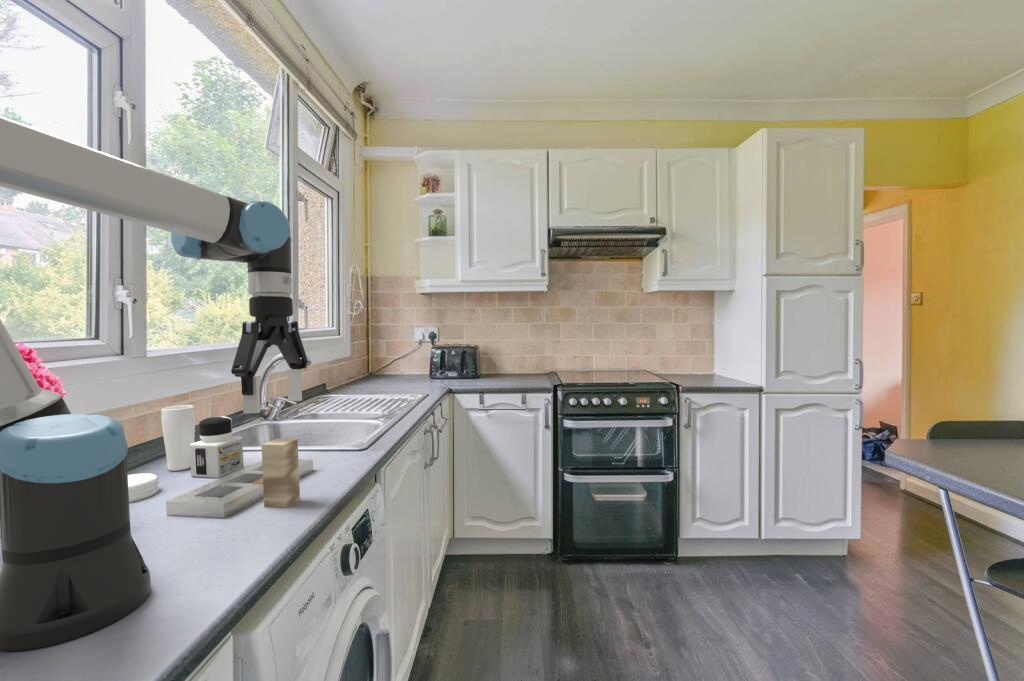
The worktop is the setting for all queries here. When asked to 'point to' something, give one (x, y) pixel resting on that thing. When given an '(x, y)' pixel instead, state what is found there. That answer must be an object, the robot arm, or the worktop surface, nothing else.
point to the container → (216, 449)
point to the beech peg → (280, 473)
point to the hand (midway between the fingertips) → (274, 406)
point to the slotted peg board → (226, 493)
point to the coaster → (142, 486)
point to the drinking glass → (178, 435)
